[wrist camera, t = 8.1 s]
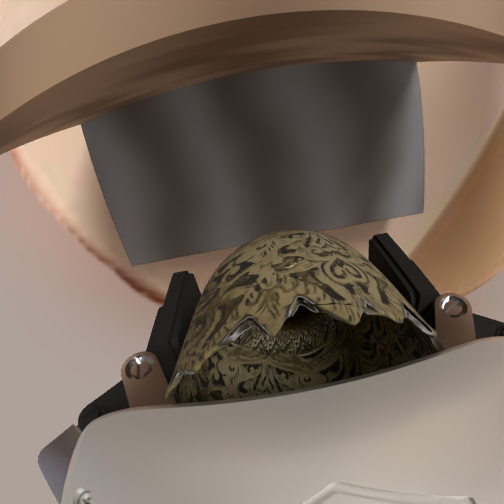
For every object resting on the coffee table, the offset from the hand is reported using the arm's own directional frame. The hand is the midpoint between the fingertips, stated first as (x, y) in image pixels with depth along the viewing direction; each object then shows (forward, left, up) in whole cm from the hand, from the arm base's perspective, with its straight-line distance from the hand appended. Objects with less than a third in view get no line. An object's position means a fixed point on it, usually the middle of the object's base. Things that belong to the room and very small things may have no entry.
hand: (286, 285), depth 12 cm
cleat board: (0, -4, -13) cm, 14 cm away
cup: (0, 0, -2) cm, 2 cm away
